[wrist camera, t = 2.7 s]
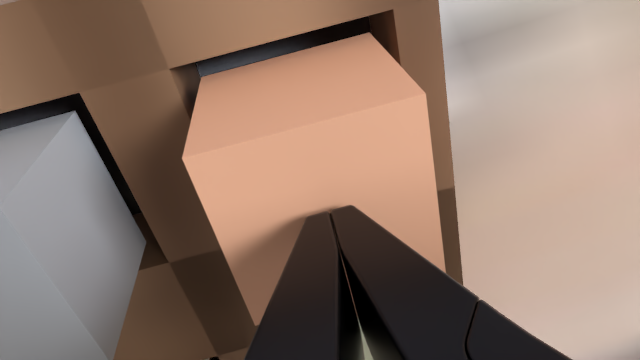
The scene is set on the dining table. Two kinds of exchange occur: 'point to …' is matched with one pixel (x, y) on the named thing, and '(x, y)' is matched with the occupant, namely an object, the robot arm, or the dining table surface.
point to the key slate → (62, 245)
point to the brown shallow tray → (173, 125)
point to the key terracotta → (311, 155)
